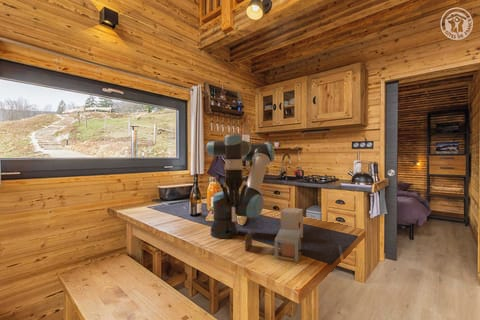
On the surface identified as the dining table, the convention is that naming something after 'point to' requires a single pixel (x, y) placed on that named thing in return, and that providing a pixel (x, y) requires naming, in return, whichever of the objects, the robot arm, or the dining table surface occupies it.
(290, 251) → the block
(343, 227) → the dining table surface
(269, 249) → the sled
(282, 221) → the supplement box
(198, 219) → the dining table surface
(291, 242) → the tunnel
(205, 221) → the dining table surface
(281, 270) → the dining table surface
